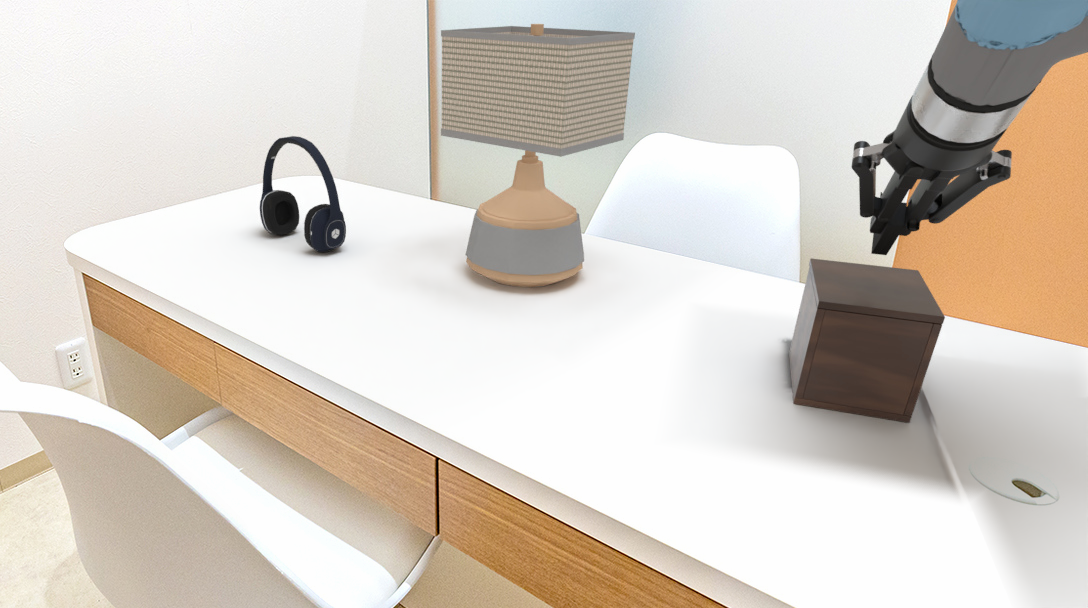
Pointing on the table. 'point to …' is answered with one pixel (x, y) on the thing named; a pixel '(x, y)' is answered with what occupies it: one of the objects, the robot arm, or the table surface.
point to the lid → (873, 291)
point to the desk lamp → (532, 134)
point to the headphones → (282, 208)
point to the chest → (858, 360)
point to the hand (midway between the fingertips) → (880, 243)
